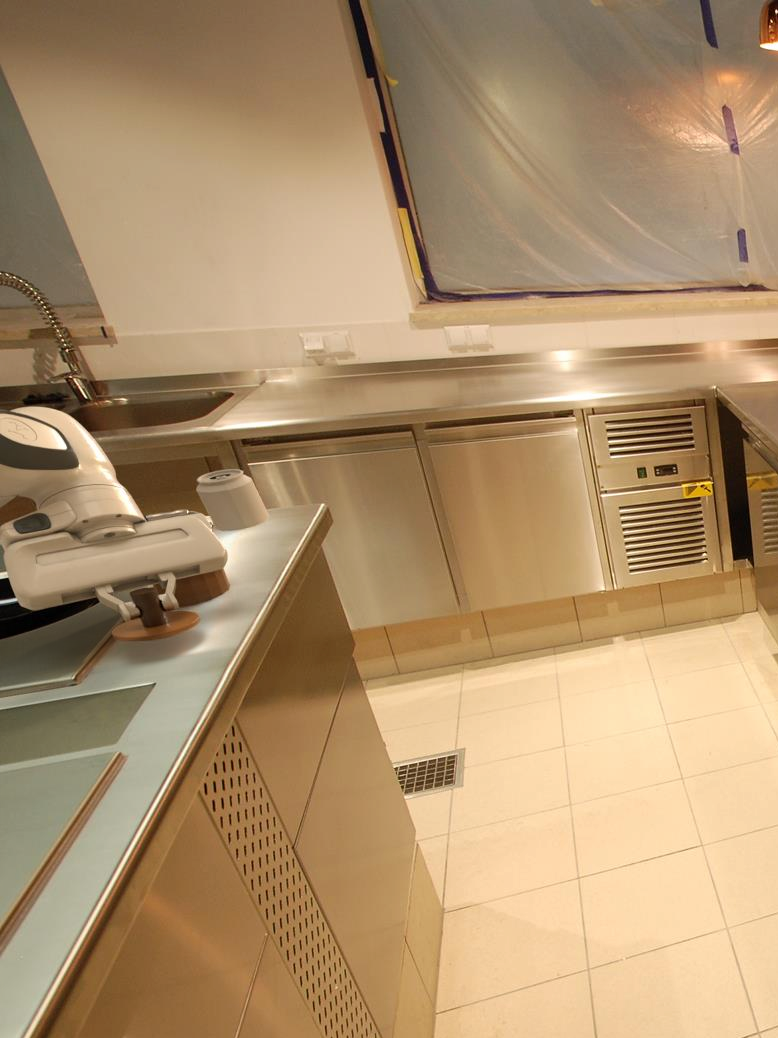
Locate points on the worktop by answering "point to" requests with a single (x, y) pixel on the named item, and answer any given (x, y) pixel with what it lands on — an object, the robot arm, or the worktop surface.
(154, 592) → the basket lid
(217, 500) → the can
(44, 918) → the worktop surface
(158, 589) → the wooden cylinder
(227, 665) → the worktop surface
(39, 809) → the worktop surface
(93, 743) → the worktop surface
